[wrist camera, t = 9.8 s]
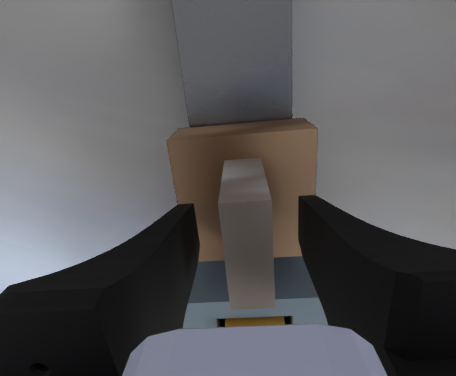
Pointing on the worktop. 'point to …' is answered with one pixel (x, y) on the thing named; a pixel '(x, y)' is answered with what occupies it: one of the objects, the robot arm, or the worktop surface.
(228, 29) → the rail
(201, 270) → the blue grey control box
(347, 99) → the worktop surface
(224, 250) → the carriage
